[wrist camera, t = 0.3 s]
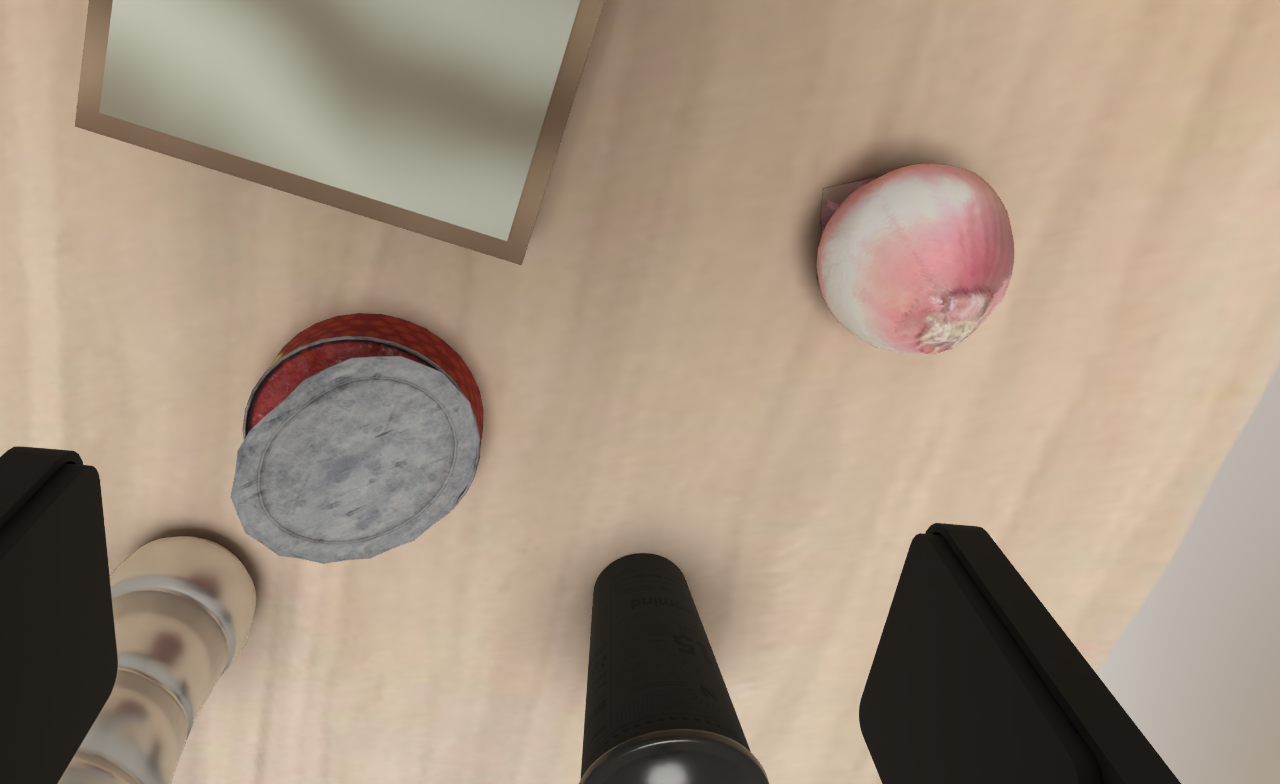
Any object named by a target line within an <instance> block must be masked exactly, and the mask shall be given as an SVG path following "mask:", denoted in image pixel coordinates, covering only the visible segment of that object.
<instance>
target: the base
mask: <svg viewBox="0 0 1280 784" xmlns="http://www.w3.org/2000/svg"><path fill="white" fill-rule="evenodd" d="M604 2H605V0H89V6H88V15H87V24H86V33H85V41H84V50H83V59H82V68H81V77H80V86H79V95H78V104H77V113H76V121H75V127H79V128H82V129H85V130H88V131H92V132H95V133H98V134H101V135H104V136H108V137H111V138H114V139H117V140H121V141H124V142H127V143H130V144H133V145H137V146H140V147H143V148H146V149H149V150H153V151H156V152H159V153H162V154H166V155H169V156H172V157H175V158H178V159H182V160H185V161H188V162H191V163H194V164H198V165H201V166H204V167H207V168H211V169H214V170H217V171H220V172H223V173H227V174H230V175H233V176H236V177H240V178H243V179H246V180H249V181H252V182H256V183H259V184H262V185H265V186H268V187H272V188H275V189H278V190H281V191H285V192H288V193H291V194H294V195H297V196H301V197H304V198H307V199H310V200H313V201H317V202H320V203H323V204H326V205H330V206H333V207H336V208H339V209H342V210H346V211H349V212H352V213H355V214H358V215H362V216H365V217H368V218H371V219H375V220H378V221H381V222H384V223H387V224H391V225H394V226H397V227H400V228H404V229H407V230H410V231H413V232H416V233H420V234H423V235H426V236H429V237H432V238H436V239H439V240H442V241H445V242H449V243H452V244H455V245H458V246H461V247H465V248H468V249H471V250H474V251H477V252H481V253H484V254H487V255H490V256H494V257H497V258H500V259H503V260H506V261H510V262H513V263H516V264H519V265H522V263H523V259H524V256H525V253H526V250H527V247H528V243H529V240H530V237H531V234H532V231H533V228H534V224H535V221H536V218H537V215H538V212H539V208H540V205H541V202H542V199H543V196H544V193H545V189H546V186H547V183H548V180H549V177H550V173H551V170H552V167H553V164H554V161H555V158H556V154H557V151H558V148H559V145H560V142H561V138H562V135H563V132H564V129H565V126H566V123H567V119H568V116H569V113H570V110H571V107H572V103H573V100H574V97H575V94H576V91H577V88H578V84H579V81H580V78H581V75H582V72H583V68H584V65H585V62H586V59H587V56H588V53H589V49H590V46H591V43H592V40H593V37H594V33H595V30H596V27H597V24H598V21H599V18H600V14H601V11H602V8H603V5H604Z"/></svg>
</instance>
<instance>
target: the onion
mask: <svg viewBox="0 0 1280 784" xmlns="http://www.w3.org/2000/svg"><path fill="white" fill-rule="evenodd" d="M821 228H822V237H821V241H820V245H819V247H818V250H817V251H818V258H817V280H818V285H820V288H821V293H822V296H823V298H824V300H825V302H826V304H827V306H828V308H829V310H830V311H831V313H832V314H833V315H834V316H835V318H836V319H837V320H838V321H839V322H840V323H841V324H842V325H843V326H844V327H845V328H846V329H847V330H849V331H850V332H851V333H852V334H854V335H855V336H857V337H858V338H859V339H861V340H862V341H864V342H866V343H869V344H870V345H872V346H874V347H876V348H882V349H885V350H889V351H894V352H899V353H926V354H929V353H931V354H936V353H940V352H942V351H945V350H950V349H953V348H954V347H956V346H957V345H958V344H959V343H961V342H962V341H963V340H964V339H965V338H967V337H968V336H969V335H971V334H972V333H973V332H974V331H975V330H976V329H977V327H978V326H979V325H980V324H981V323H982V322H983V321H984V320H985V319H986V318H987V317H988V316H989V315H990V314H991V313H992V311H993V310H994V309H995V308H996V307H997V306H998V304H999V303H1000V302H1001V300H1002V299H1003V297H1004V295H1005V293H1006V290H1007V288H1008V285H1009V282H1010V279H1011V275H1012V270H1013V263H1014V241H1013V235H1012V231H1011V225H1010V221H1009V217H1008V213H1007V210H1006V209H1005V207H1004V205H1003V203H1002V201H1001V199H1000V198H999V196H998V195H997V193H996V192H995V191H994V189H993V188H992V187H991V186H990V185H989V184H988V183H987V182H986V181H985V180H984V179H983V178H981V177H980V176H978V175H977V174H975V173H973V172H972V171H969V170H966V169H961V168H958V167H954V166H949V165H942V164H916V165H909V166H906V167H901V168H898V169H895V170H893V171H890V172H889V173H886V174H884V175H883V176H881V177H877V178H872V179H867V180H862V181H857V182H852V183H847V184H842V185H838V186H833V187H828V188H825V189H823V195H822V210H821Z"/></svg>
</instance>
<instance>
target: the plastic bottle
mask: <svg viewBox="0 0 1280 784" xmlns="http://www.w3.org/2000/svg"><path fill="white" fill-rule="evenodd" d="M110 586H111V596H112V606H113V616H114V626H115V636H116V646H117V656H118V670H117V676H116V681H115V684H114V687H113V690H112V692H111V695H110V697H109V698H108V700H107V702H106V703H105V705H104V707H103V708H102V710H101V712H100V714H99V715H98V717H97V719H96V720H95V722H94V724H93V725H92V727H91V729H90V730H89V732H88V734H87V735H86V737H85V739H84V740H83V742H82V744H81V745H80V747H79V749H78V750H77V752H76V754H75V755H74V757H73V759H72V760H71V762H70V764H69V765H68V767H67V769H66V770H65V772H64V774H63V775H62V777H61V779H60V780H59V782H58V784H171V783H172V779H173V775H174V772H175V769H176V767H177V764H178V761H179V759H180V756H181V754H182V751H183V749H184V746H185V743H186V740H187V737H188V735H189V733H190V730H191V728H192V725H193V723H194V720H195V719H196V717H197V715H198V713H199V712H200V710H201V708H202V707H203V705H204V703H205V701H206V700H207V698H208V696H209V695H210V693H211V691H212V689H213V688H214V686H215V684H216V683H217V681H218V679H219V678H220V676H221V675H222V674H223V673H224V672H225V670H226V669H227V668H228V667H229V666H230V664H231V663H232V662H233V660H234V659H235V658H236V656H237V655H238V653H239V652H240V650H241V649H242V647H243V646H244V644H245V643H246V641H247V639H248V637H249V635H250V632H251V629H252V624H253V618H254V612H255V607H256V590H255V587H254V584H253V581H252V579H251V577H250V575H249V574H248V572H247V570H246V569H245V567H244V565H243V564H242V563H241V562H240V560H239V559H238V558H237V557H236V556H235V555H234V554H233V553H231V552H230V551H229V550H228V549H226V548H224V547H223V546H221V545H219V544H217V543H215V542H212V541H210V540H207V539H203V538H199V537H192V536H177V537H168V538H161V539H158V540H155V541H151V542H149V543H147V544H145V545H143V546H142V547H140V548H139V549H137V550H136V551H135V552H134V553H133V554H132V555H131V556H129V557H128V558H127V559H126V560H125V561H124V562H123V563H122V564H121V565H119V566H118V567H117V568H116V569H115V570H114V572H113V573H112V574H111V576H110Z"/></svg>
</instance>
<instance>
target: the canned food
mask: <svg viewBox="0 0 1280 784" xmlns="http://www.w3.org/2000/svg"><path fill="white" fill-rule="evenodd" d="M482 431H483V406H482V401H481V396H480V391H479V389H478V386H477V384H476V382H475V380H474V377H473V375H472V373H471V371H470V370H469V368H468V367H467V366H466V364H465V363H464V361H463V360H462V359H461V357H460V356H459V355H458V354H457V353H456V352H455V351H454V350H453V349H452V348H451V347H450V346H449V345H448V344H447V343H446V342H445V341H444V340H442V339H441V338H439V337H438V336H436V335H434V334H433V333H431V332H430V331H428V330H427V329H425V328H423V327H421V326H418V325H416V324H414V323H411V322H409V321H406V320H404V319H400V318H395V317H391V316H387V315H382V314H362V313H358V314H351V315H343V316H337V317H334V318H331V319H328V320H325V321H322V322H319V323H316V324H314V325H313V326H311V327H309V328H307V329H306V330H304V331H302V332H301V333H299V334H297V335H296V336H295V337H294V338H293V339H292V340H291V341H290V342H289V343H288V344H286V345H285V346H284V347H283V348H282V350H281V351H280V353H279V354H278V356H277V357H276V358H275V360H274V361H273V363H272V364H271V366H270V367H269V369H268V370H267V371H266V372H265V373H264V374H263V376H262V377H261V378H260V380H259V381H258V383H257V384H256V386H255V387H254V389H253V390H252V393H251V395H250V398H249V401H248V403H247V406H246V408H245V415H244V423H243V437H244V441H243V443H242V445H241V446H240V448H239V450H238V454H237V463H236V471H235V477H234V483H233V488H232V493H231V498H232V501H233V504H234V506H235V509H236V511H237V514H238V516H239V519H240V521H241V523H242V526H243V528H244V530H245V533H246V534H248V535H249V536H251V537H253V538H254V539H256V540H257V541H259V542H261V543H262V544H264V545H265V546H266V547H268V548H269V549H271V550H272V551H274V552H275V553H276V554H278V555H279V556H286V557H294V558H301V559H306V560H310V561H314V562H319V563H323V564H324V563H330V562H337V561H343V560H352V559H366V558H372V557H374V556H376V555H379V554H381V553H383V552H385V551H388V550H390V549H392V548H395V547H397V546H400V545H403V544H406V543H408V542H411V541H414V540H415V539H416V538H418V537H419V536H420V535H421V534H422V533H424V532H425V531H426V530H427V529H428V528H429V527H431V526H432V525H433V524H435V523H436V522H437V521H439V520H440V519H441V518H443V517H444V516H446V515H447V514H448V513H450V511H451V510H452V509H454V508H455V506H456V505H457V504H458V503H459V501H460V500H461V499H462V498H463V497H464V495H465V494H466V493H467V491H468V489H469V487H470V485H471V483H472V481H473V479H474V477H475V474H476V470H477V466H478V462H479V458H480V445H481V438H482Z"/></svg>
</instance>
